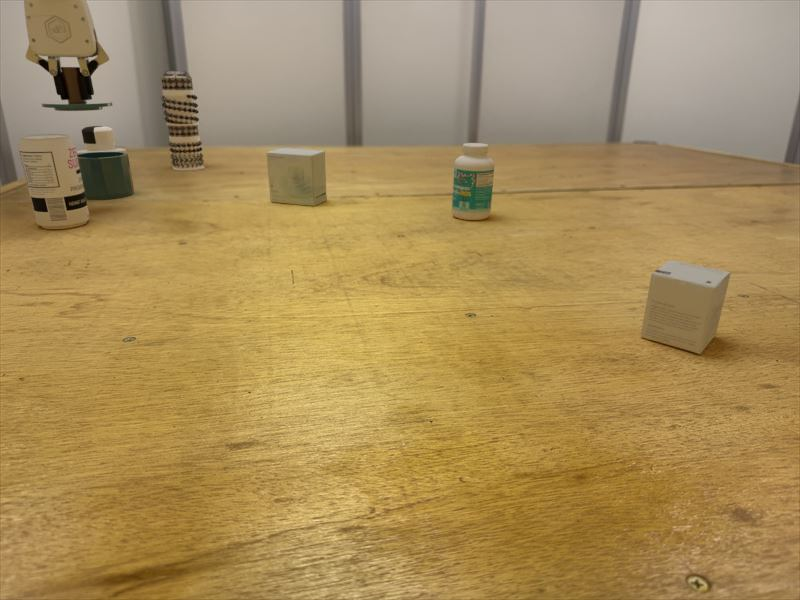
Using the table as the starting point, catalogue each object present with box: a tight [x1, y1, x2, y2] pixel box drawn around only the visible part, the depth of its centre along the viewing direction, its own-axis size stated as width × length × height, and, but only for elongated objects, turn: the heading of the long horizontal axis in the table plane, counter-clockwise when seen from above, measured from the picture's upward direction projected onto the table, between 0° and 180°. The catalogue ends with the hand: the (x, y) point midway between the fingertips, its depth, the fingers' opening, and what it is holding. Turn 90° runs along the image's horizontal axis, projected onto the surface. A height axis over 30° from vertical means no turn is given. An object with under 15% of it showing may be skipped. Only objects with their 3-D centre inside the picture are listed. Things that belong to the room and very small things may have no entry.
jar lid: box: [41, 66, 113, 112], centre depth 100 cm, size 11×11×7 cm
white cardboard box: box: [640, 259, 731, 355], centre depth 57 cm, size 6×6×7 cm
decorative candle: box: [160, 70, 205, 172], centre depth 149 cm, size 9×9×25 cm
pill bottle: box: [451, 142, 495, 221], centre depth 103 cm, size 8×7×14 cm
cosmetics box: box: [265, 147, 328, 207], centre depth 114 cm, size 10×6×10 cm, turn 71°
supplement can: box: [17, 133, 91, 230], centre depth 94 cm, size 8×8×15 cm
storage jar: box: [77, 152, 135, 201], centre depth 119 cm, size 10×10×8 cm
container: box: [76, 125, 127, 154], centre depth 130 cm, size 8×8×13 cm
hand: (76, 98), depth 101 cm, fingers closed on jar lid, 3 cm apart
